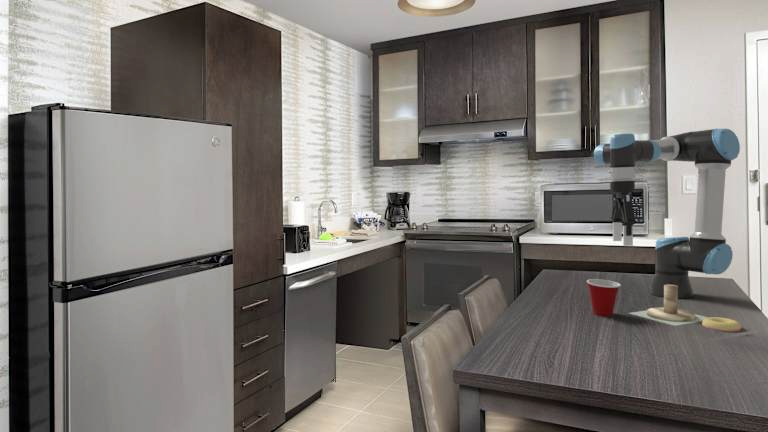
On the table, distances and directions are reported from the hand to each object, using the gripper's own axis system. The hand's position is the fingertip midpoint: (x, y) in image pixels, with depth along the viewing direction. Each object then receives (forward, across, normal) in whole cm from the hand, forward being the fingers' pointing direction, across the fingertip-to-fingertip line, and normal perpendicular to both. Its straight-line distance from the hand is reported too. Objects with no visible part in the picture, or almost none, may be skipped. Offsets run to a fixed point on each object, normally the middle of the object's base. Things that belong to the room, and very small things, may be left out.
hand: (622, 243), depth 176 cm
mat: (+25, +1, +15) cm, 29 cm away
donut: (+26, +14, +25) cm, 38 cm away
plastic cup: (+25, 0, -6) cm, 26 cm away
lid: (+24, +1, +15) cm, 28 cm away
